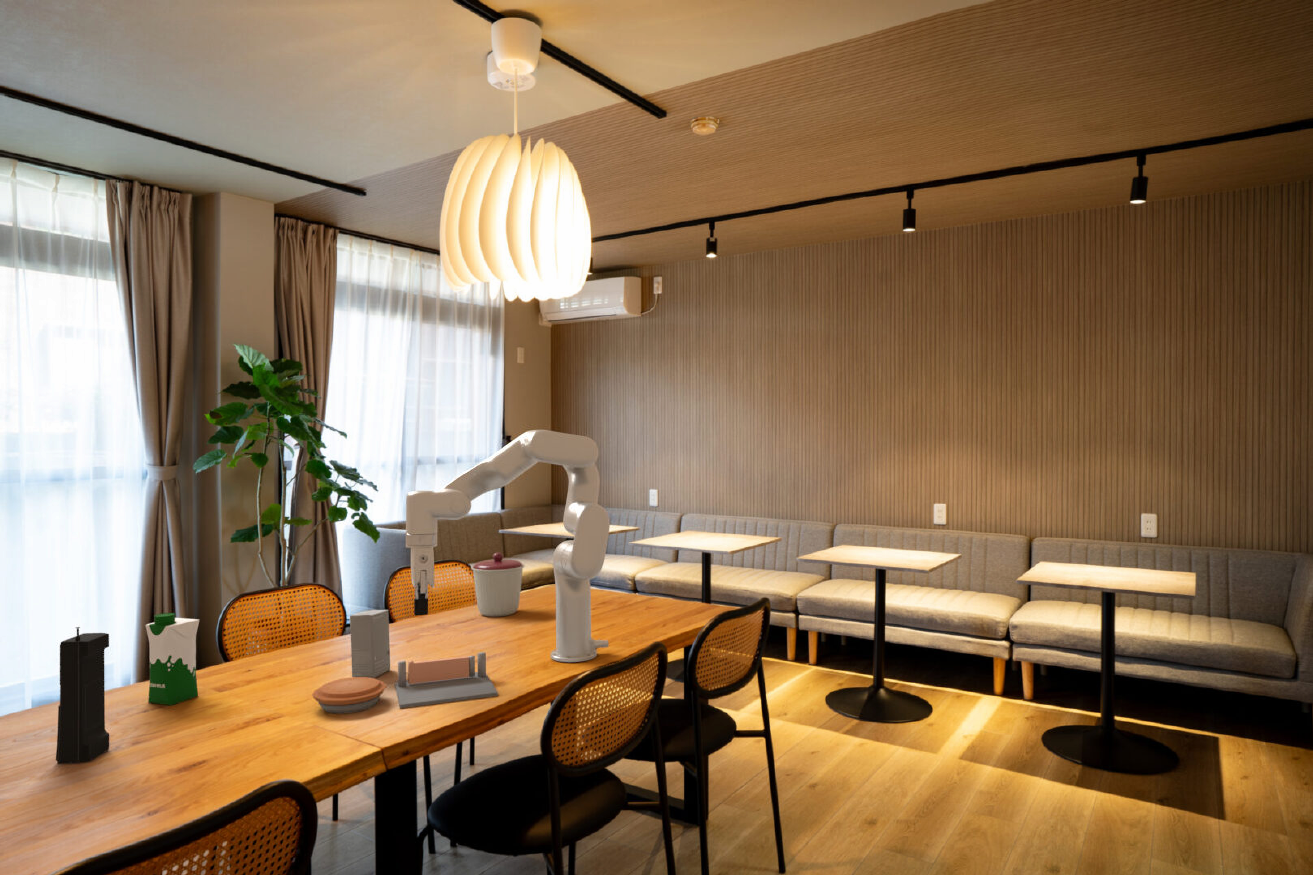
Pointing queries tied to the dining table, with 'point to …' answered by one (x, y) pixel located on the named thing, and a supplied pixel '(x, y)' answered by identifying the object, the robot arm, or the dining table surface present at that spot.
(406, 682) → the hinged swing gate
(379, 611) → the skincare box
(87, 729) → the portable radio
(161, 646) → the milk carton
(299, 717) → the dining table surface
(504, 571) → the canister
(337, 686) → the pie
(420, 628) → the dining table surface
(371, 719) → the dining table surface
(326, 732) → the dining table surface
